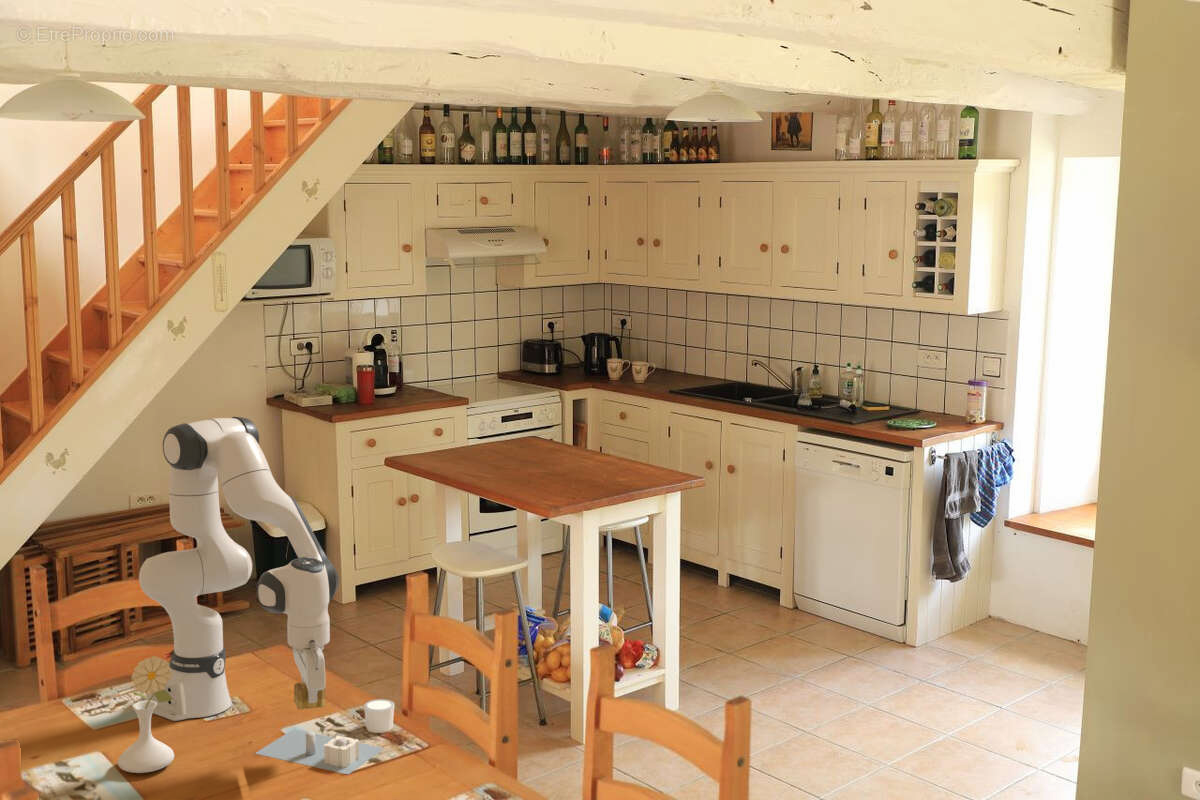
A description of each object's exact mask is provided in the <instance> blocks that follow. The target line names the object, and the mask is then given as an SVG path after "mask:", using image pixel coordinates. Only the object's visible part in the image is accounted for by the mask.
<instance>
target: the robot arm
mask: <svg viewBox="0 0 1200 800" xmlns="http://www.w3.org/2000/svg"><path fill="white" fill-rule="evenodd" d="M163 437H164V438H163V441H162V453H163V456H164V459H165V461H166V462H167V463H168V464H169V465H170V466H169V476H168V477H169V478H168V498H169V499H168V500H169V521H170V524H171V526H172V528H173V529H174V530H175V531H176V532H178V533H179V534H183V535H185V536H188V537H190V538H194V539H195V540H196V547H195V548H189V549H181V550H174V551H167V552H162V553H159V554H156V555H154V556H152V557H148V558H146V559H145V561H144V562H143V563H142V565H141V566H140V569H139V574H138V580H139V581H138V582H139V585H140V589H141V590H142V591H143V593H144V594H145V595H146V596H147V597H148V598H150V599H152V600H154V601H155V602H156V603H158V604H159V605H161V607H162V608H164V611H166V612H167V614H168V616H169V618H170V621H171V626H172V633H173V644H174V645H173V646H174V647H173V648H174V649H173V650H171V651H170V652H169V653H168V652H167V653H166V654H165V656H166V657H165V658H164V660H166V659H169V658H170V660H169V666H168V667H170V668H171V670H170V672H172V675H171V678H170V681H169V682H168V683H167V686H166V687H165V688H164V689H163V690H166V691H167V692H168V693H169V695H170V696H171V697H172V698H173V700H170V701H166V702H159V701H158V700H157V698H156V697H155V694H154V696H153V698H152V699H151V700H150V701H155V702H156V703H157V705H156V707H155V708H154V710H153V712H152V714H154V715H157V716H159V717H162V718H165V719H168V720H170V721H173V722H176V721H177V722H178V721H183V720H187V719H195V718H205V717H206V718H207V717H211V716H215V715H218V714H219V713H222V712H224V711H226V710H228V709H229V708H230V707H231V706H232V703H233V701H232V699H231V696H230V692H229V688H228V683H227V677H226V670H225V666H226V648H225V646H224V634H223V633H224V630H223V629H224V628H223V627H224V626H223V624H224V623H223V618H222V617H221V615H220V614H219V612H218V611H216V610H215V609H213V608H210V607H208V606H205V605H201V604H198V602H197V597H198V596H200V595H201V596H202V595H206V594H212V593H218V592H221V593H222V592H226V591H227V592H228V591H230V590H233V589H235V588H238V587H241V586H243V585H246V584H247V582H248V581H249V580H250V577H251V575H252V572H253V560H252V557H251V555H250V553H249V552H248V551H247V549H246V548H244V547H243V546H242V545H240V544H238V543H236V542H235V541H234V540H233V539H232V538H231V537H230V536H229V534H228V533H227V531H226V529H225V527H224V525H223V523H222V522H223V521H222V518H221V516H222V515H221V509H220V508H221V507H220V496H219V491H220V490H219V483H220V485H221V490H222V492H223V495H224V498H225V500H226V503H227V504H228V506H229V508H230V510H232V512H234V513H235V514H236V515H238V516H240V517H241V518H243V519H247V520H251V521H256V522H257V521H258V522H262V523H266V524H269V525H273V526H275V527H277V528H279V529H280V530H281V531H282V532H284V533H285V535H286V536H287V538H288V541H289V542H290V544H291V546H292V548H293V550H294V552H295V554H296V556H297V558H294V559H293V560H291V561H290V562H289V563H288V564H286V565H284V566H280V567H276V568H272V569H269V570H268V571H267V570H266V571H264V572H263V573H262V574H261V575H260V577H259V579H258V581H257V585H256V596H257V601H258V603H259V605H260V606H261V607H262V608H263V609H264V610H265V611H268V612H269V613H272V614H286V615H287V622H286V623H287V624H286V625H287V644H288V645H289V646H290V647H291V649H292V655H293V659H294V662H295V664H296V666H297V669H298V671H299V673H300V677H301V683H303V682H305V684H306V686H307V689H308V701H309V703H316V702H317V694H318V690H323V689H324V688H325V689H326V683H327V682H326V667H325V666H326V664H325V663H326V661H325V656H324V653H323V650H324V648H325V645H328V644H329V642H330V641H331V639H330V638H331V634H330V631H331V629H330V627H331V626H330V624H331V623H330V622H331V621H330V615H329V610H328V607H329V604H330V602H331V601H332V600H333V598H334V596H335V595H336V593H337V591H338V588H339V584H340V576H339V573H338V571H337V569H336V567H335V566H334V564H333V563H332V561H331V560H330V558H329V557H328V556H327V555H326V554H325V552H324V550H323V547H322V546H321V544H320V541H318V539H317V537H316V535H315V533H314V531H313V529H312V527H311V525H310V523H309V522H308V519H307V517H306V515H305V513H304V512H303V509H301V507H300V505H299V504H298V501H296V499H295V498H294V497H293V496H291V495H289V494H287V493H286V492H285V491H284V490H283V489H282V487H280V486H279V484H278V483H277V481H276V480H275V478H274V476H273V473H272V471H271V468H270V466H269V462H268V461H267V458H266V455H265V454H264V452H263V450H262V448H261V446H260V434H259V430H258V427H256V424H255V423H254V422H253V421H252V420H251V419H249V418H247V417H241V416H232V417H214V418H213V417H212V418H207V419H205V420H204V419H203V420H199V421H198V420H197V421H194V422H193V421H192V422H189V423H180V424H177V425H174V426H172V427H170V428H168V430H167V431H166V432H165V434H164V436H163ZM144 695H145V696H146V697H147V698H148V699H146V698H143V697H140V698H139V699H138V700H137V701H136V703H137V702H140V701H146V700H149V699H150V698H151V696H152V695H153V694H151V695H147V694H144Z"/></svg>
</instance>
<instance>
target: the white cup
mask: <svg viewBox="0 0 1200 800" xmlns="http://www.w3.org/2000/svg"><path fill="white" fill-rule="evenodd" d="M395 705H396V704H395V702H394V701H393V700H392V701H391V699H384V698H383V699H382V698H380V699H372V700H369V701H367V702H365V704H364V705H363V709H364V717H365V726H366V727H365V728H366V731H368V732H370V733H375V734H377V733H378V734H380V733H381V734H382V733H385V732H389V731H390V730H392V729H393V726H394V725H393V724H394V715H395Z"/></svg>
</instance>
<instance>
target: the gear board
mask: <svg viewBox="0 0 1200 800" xmlns="http://www.w3.org/2000/svg"><path fill="white" fill-rule="evenodd" d="M334 738H335V737H333V736H328V735H324V734H319V733H316V732H314V731H305V730H299V729H295V728H293V729H292V730H290V731H288V732H287V733H285V734H283V735H282V736H280V737H279V738H277V739H275V740H273V741H272V742H271V743H269V744H267V745H266V746H264V747H262V748H261V749H259V750H258V751H256V752H254V754H256V755H259V756H264V757H269V758H272V759H277V760H282V761H284V762H285V761H286V762H290V763H295V764H300V765H305V766H307V767H308V766H309V767H313V768H318V769H322V770H324V771H325V770H327V771H331V772H334V773H339V774H344V775H350V774H351V773H353V772H354V771H355V770H357V769H358V768H359V767H361V766H362V765H364V764H365V763H366V762H368V761H369V760H370V759H372V758H373V757H375V756H376V755H378V753H380V752H381V751H383V750H384V749H385V748H384V747H381V746H378V745H377V746H376V745H371V744H366V743H362V742H359V759H356V761H355V762H353V763H352V764H350V765H348V767H344V768H342V766H340V767H339V766H334V765H330V764H325V762H324V744H328V742H329V741H330V740H332V739H334ZM337 746H339V747H341V746H346V739H338V740H337Z"/></svg>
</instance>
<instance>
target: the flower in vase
mask: <svg viewBox="0 0 1200 800" xmlns="http://www.w3.org/2000/svg"><path fill="white" fill-rule="evenodd" d="M169 662H170V661H169ZM169 662H168V661H167V660H166V659H163V658H160V657H158V656H155V655H152V657H149V658H148V657H146V658H145V659H144V660H141V661H139V662H138V664H137V666H135V667H134V671H133V672H132V674H131V680H133V681H132V684H133V685H134V687H133V688H134V689H135V690H134V689H132V688H131V691H132V692H133V694H134V695H137V696H138V697H140V698H141V697H143V698H146V699H148V698H147V697H146V696H145V695H146V694H147V695H151V694H153V695H152V696H151V698H150V699H149V700H146V701H140V702H137V701H136V702H135V703H133V704H132V705H131V709H132V710H133V711H134V712H135V713H136V715H137V719H138V724H139V735H138V738H137V740H136V741H135V742H133V743H132V744H131V745H130V746H128V747H127V748H126V749H124V751H122V753H121V754H120V755H119V757H118V759H117V766H118V767H119V768H120V769H121V770H122V771H124V772H128V773H135V774H144V773H145V774H146V773H151V772H155V771H158V770H161V769H164V768H166V767H167V766H169V765H170V764H171V763H172V762H173V761H174V759H175V753H174V750H173V749H172V748H171V747H170V746H168V745H167V744H165V743H164V742H162V741H161V740H158V739H156V738H155V737H154V736H153V735H152V715H153V713H152V712H153V710H154V708H155V707H156V705H157V703H156V702H155V701H150V700H151V699H152V698H153V696H154V694H155V697H156V698H157V700H158V701H159V702H166V701H170V700H173V698H172V697H171V696H170V695H169V693H168V692H167V691H166V690H163V689H164V688H165V687H166V686H167V683H168V682H169V681H170V678H171V675H172V672H170V670H171V668H170V667H168V666H169Z"/></svg>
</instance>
